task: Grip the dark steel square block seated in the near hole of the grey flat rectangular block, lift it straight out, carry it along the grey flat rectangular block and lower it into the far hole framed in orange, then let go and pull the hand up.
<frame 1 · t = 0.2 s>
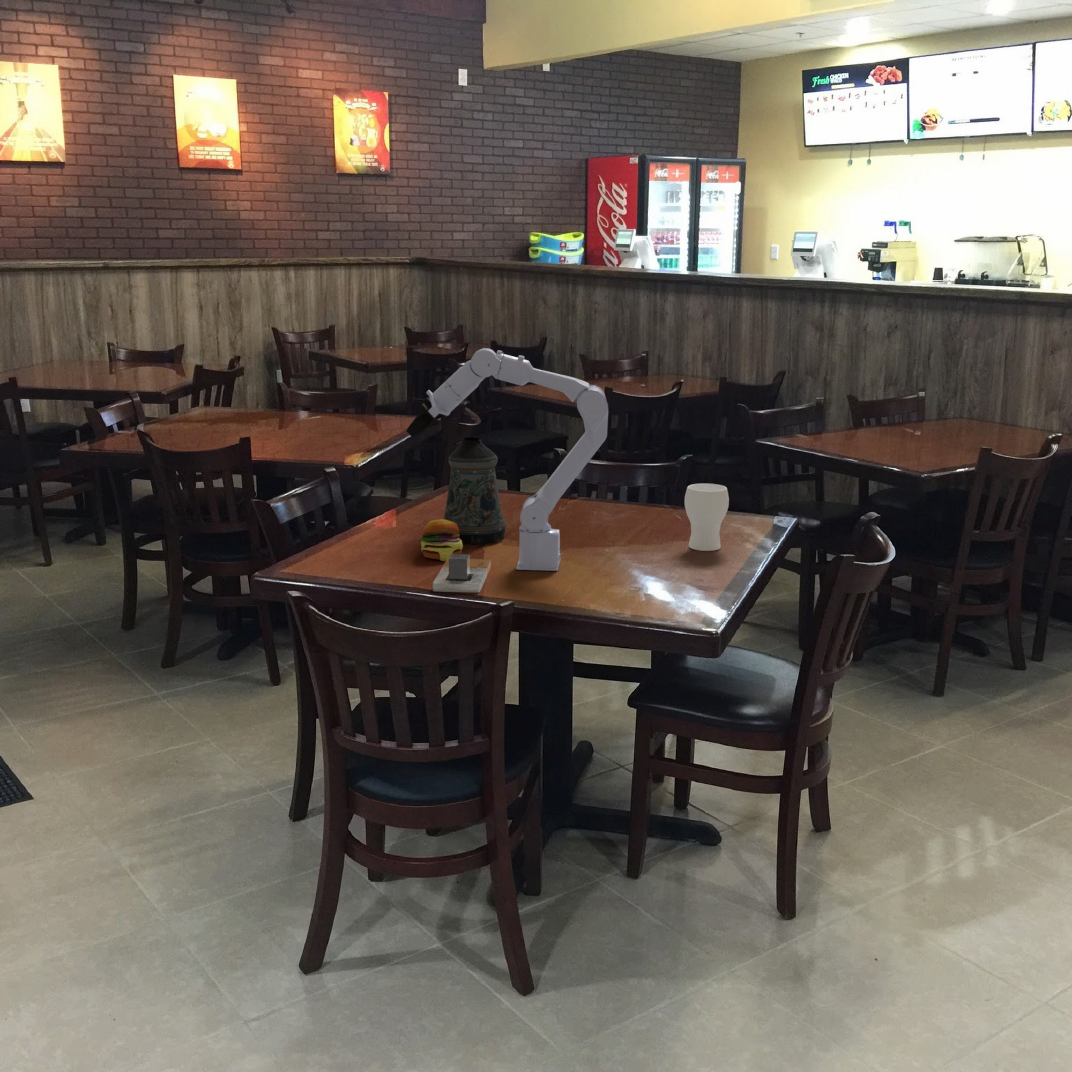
hand: (411, 430, 254), 31 cm above the table, fingers open, 7 cm apart
cheeseburger: (441, 556, 269), on the table
cup: (704, 548, 277), on the table
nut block: (459, 585, 246), resting in grey flat rectangular block
grey flat rectangular block: (463, 578, 250), on the table
beer stein: (469, 537, 287), on the table
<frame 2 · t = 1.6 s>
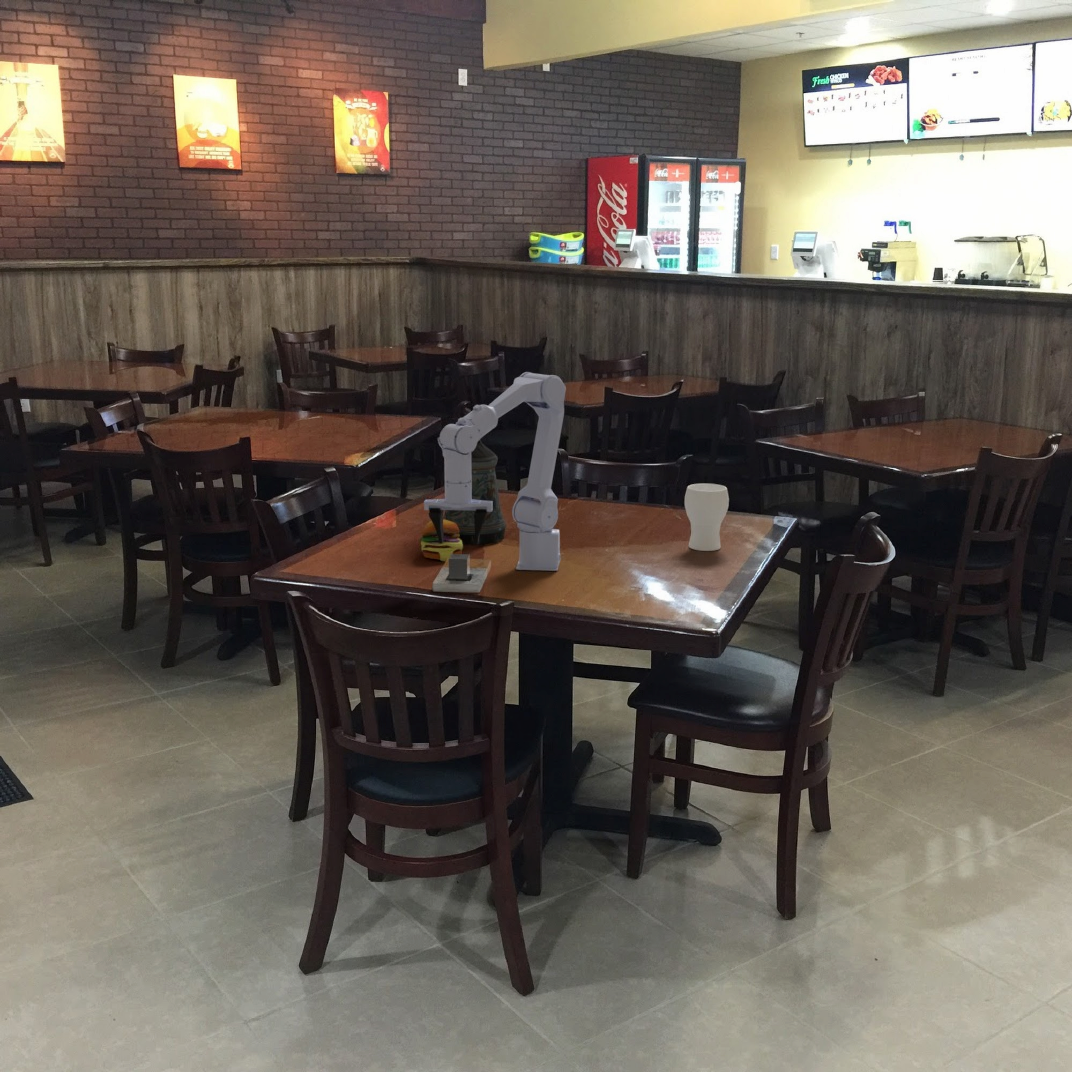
hand: (458, 542, 243), 10 cm above the table, fingers open, 7 cm apart
nothing on the table moved.
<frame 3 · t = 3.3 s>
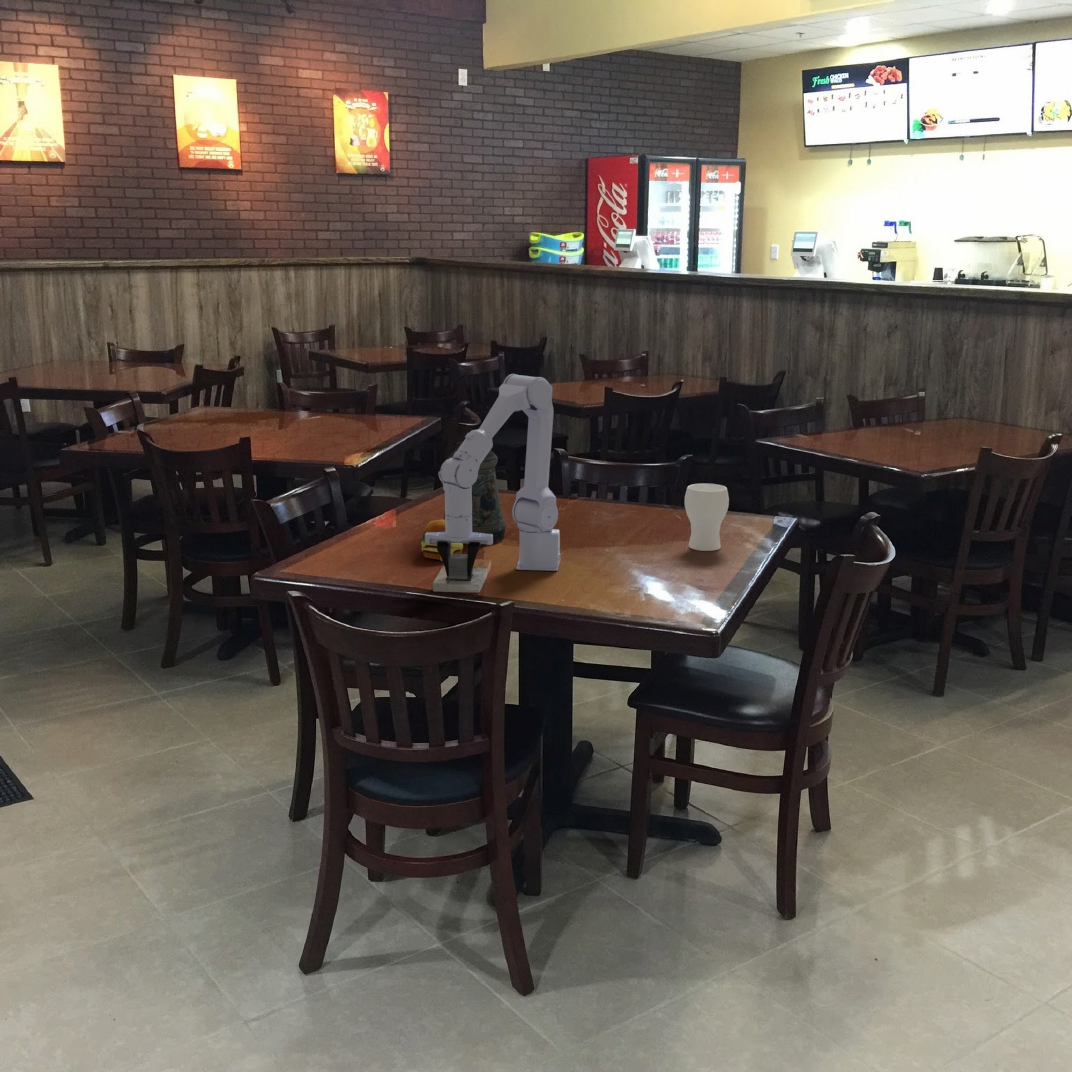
hand: (459, 575, 245), 2 cm above the table, fingers closed on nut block, 4 cm apart
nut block: (459, 585, 246), resting in grey flat rectangular block, touching gripper
everything else where it was.
when the fingers open (3 cm above the table, at t = 7.7 s): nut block stays where it is, resting in grey flat rectangular block.
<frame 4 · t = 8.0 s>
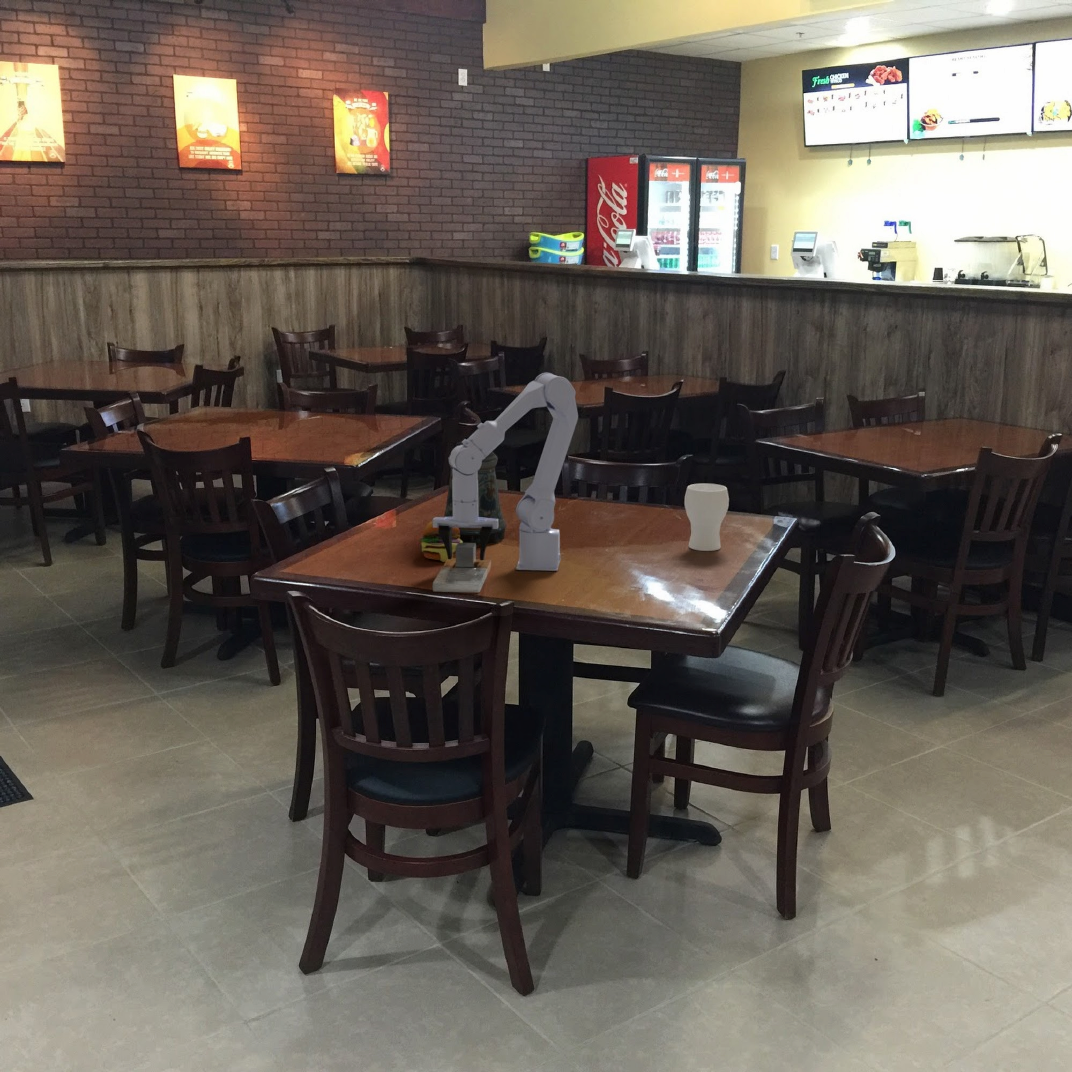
hand: (466, 558, 254), 3 cm above the table, fingers open, 7 cm apart
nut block: (466, 572, 255), resting in grey flat rectangular block
everything else where it was.
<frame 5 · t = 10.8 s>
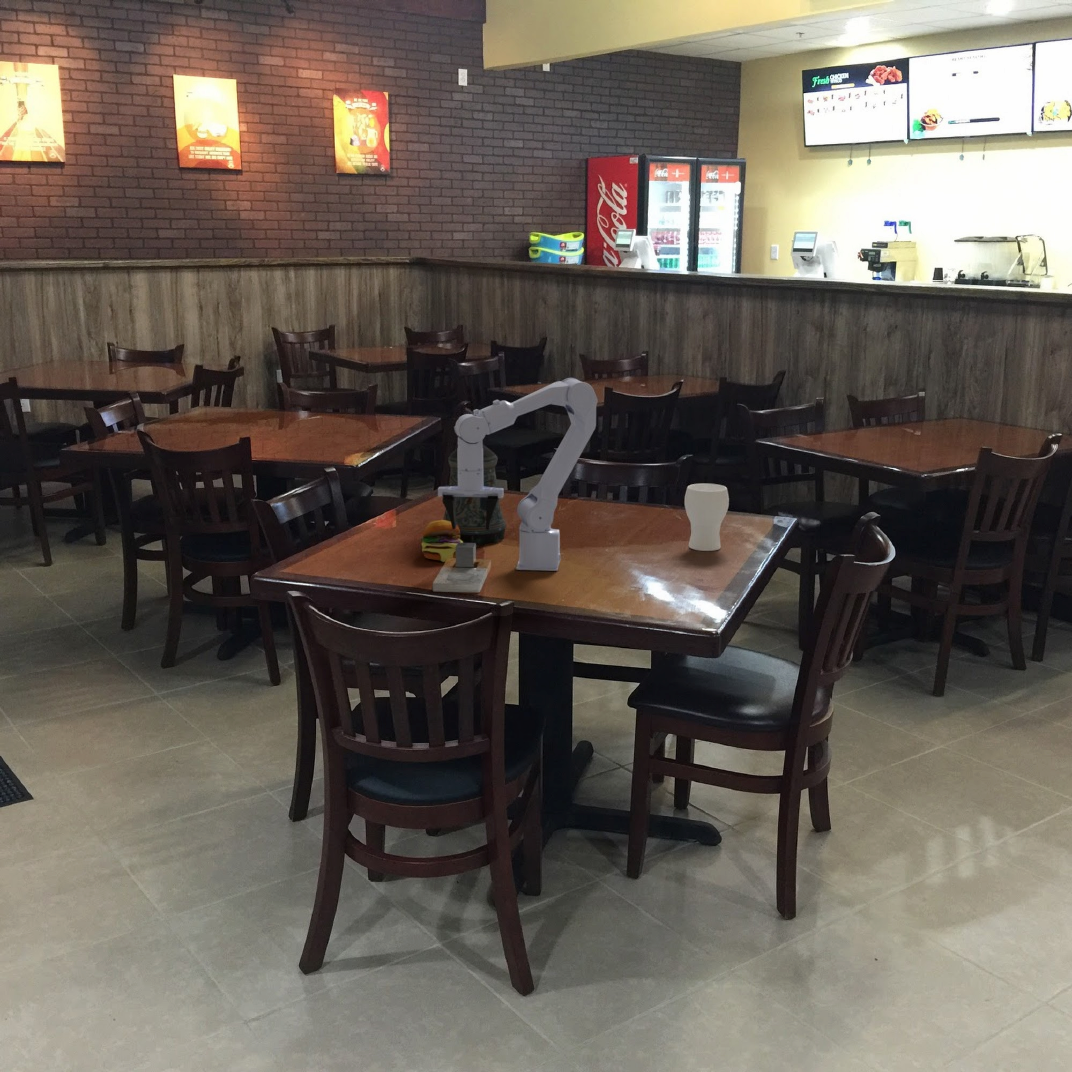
hand: (471, 528, 254), 10 cm above the table, fingers open, 7 cm apart
nothing on the table moved.
at the end: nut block 0.3 cm from the target spot on the grey flat rectangular block, point 0.0 cm above the grey flat rectangular block's base; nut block tilted 0°; the gripper is holding nothing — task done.
